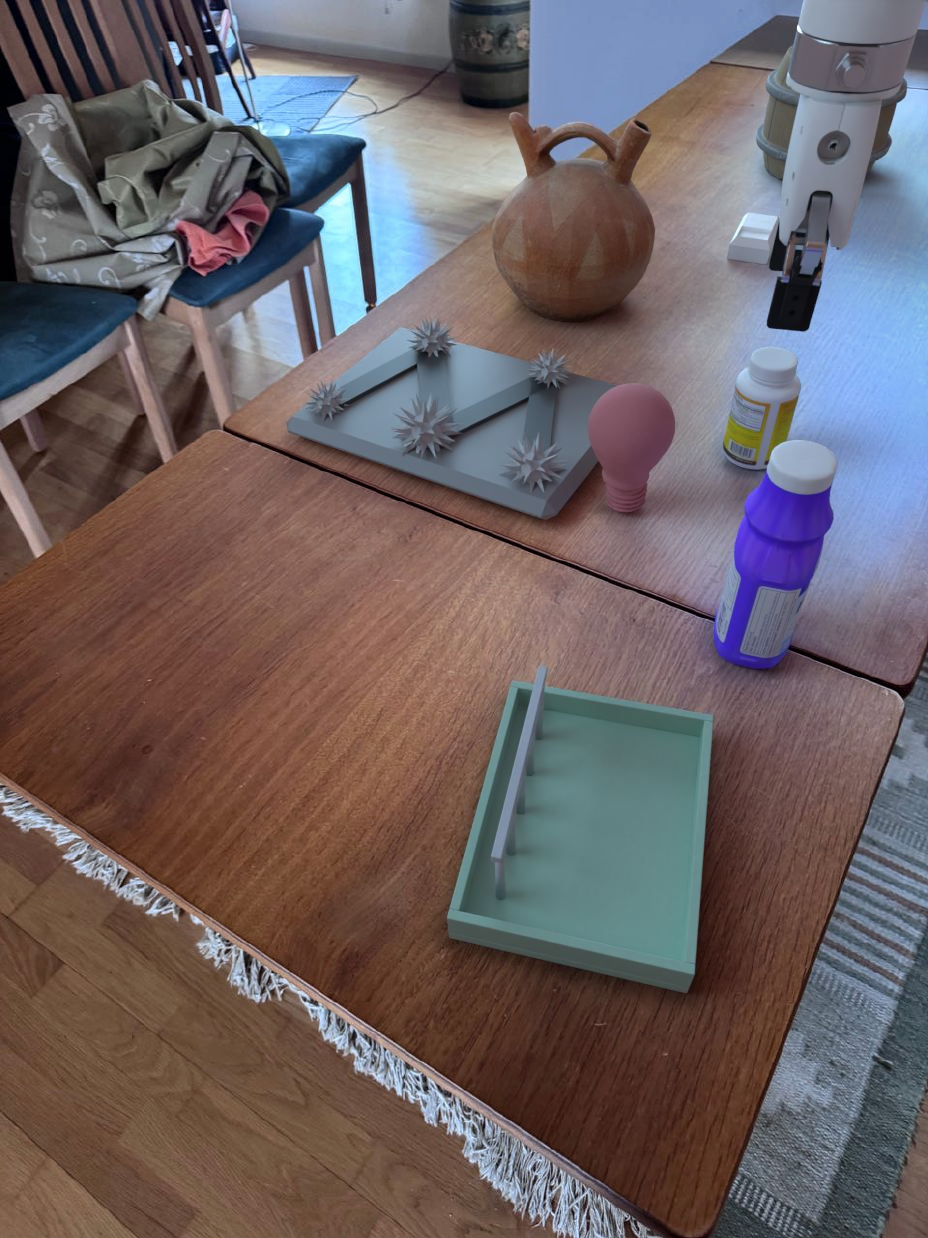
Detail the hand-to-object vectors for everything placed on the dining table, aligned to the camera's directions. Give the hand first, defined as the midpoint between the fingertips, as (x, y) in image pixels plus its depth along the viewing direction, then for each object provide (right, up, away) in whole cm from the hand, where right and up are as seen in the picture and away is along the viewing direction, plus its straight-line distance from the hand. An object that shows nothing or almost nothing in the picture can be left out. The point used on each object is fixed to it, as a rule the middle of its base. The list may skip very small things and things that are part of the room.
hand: (787, 297), depth 72 cm
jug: (-14, +12, +33) cm, 38 cm away
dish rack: (-19, -40, -15) cm, 47 cm away
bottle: (-5, -28, -5) cm, 29 cm away
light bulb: (-12, -16, +7) cm, 22 cm away
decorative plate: (-26, -7, +16) cm, 32 cm away
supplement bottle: (+1, -11, +11) cm, 16 cm away
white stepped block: (+11, +21, +41) cm, 47 cm away
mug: (+24, +38, +56) cm, 72 cm away
